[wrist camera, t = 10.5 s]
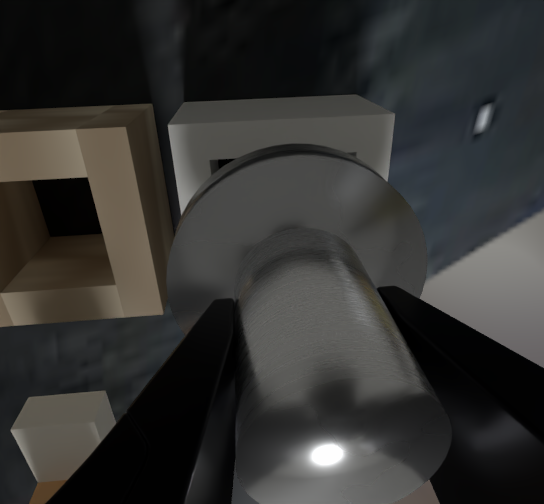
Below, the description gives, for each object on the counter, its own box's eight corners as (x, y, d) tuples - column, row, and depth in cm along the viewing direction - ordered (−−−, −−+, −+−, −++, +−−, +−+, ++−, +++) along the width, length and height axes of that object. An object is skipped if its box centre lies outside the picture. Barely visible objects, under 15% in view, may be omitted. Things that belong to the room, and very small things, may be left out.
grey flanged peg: (198, 289, 15) (160, 586, 7) (174, 119, 12) (58, 294, 4) (359, 277, 15) (500, 546, 7) (374, 110, 12) (638, 252, 4)
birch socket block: (27, 266, 17) (-27, 328, 13) (-32, 111, 14) (-121, 139, 10) (177, 256, 17) (163, 314, 14) (152, 103, 14) (125, 126, 11)
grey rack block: (203, 255, 17) (196, 311, 14) (183, 102, 14) (167, 124, 11) (346, 245, 18) (374, 297, 14) (356, 94, 15) (395, 113, 11)
